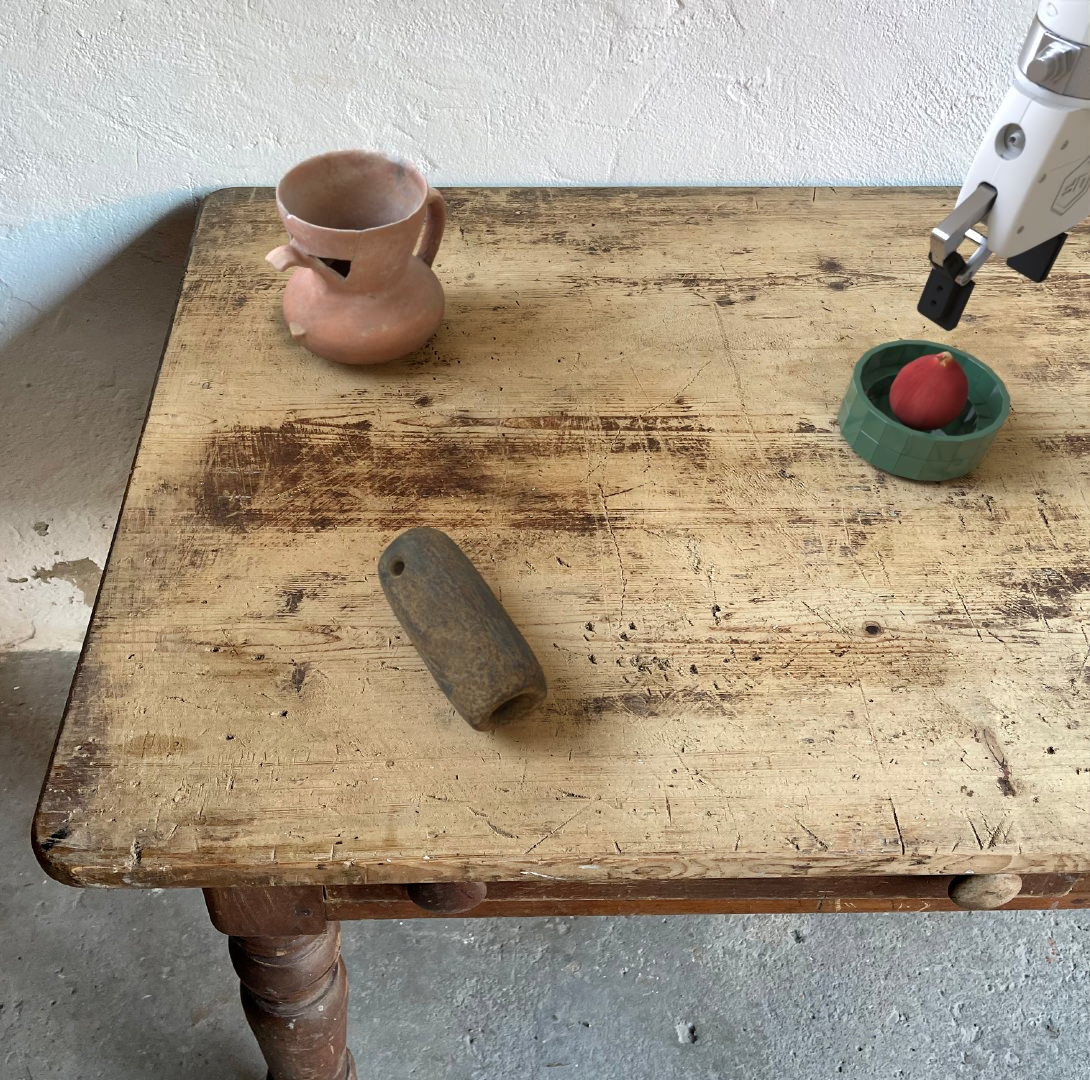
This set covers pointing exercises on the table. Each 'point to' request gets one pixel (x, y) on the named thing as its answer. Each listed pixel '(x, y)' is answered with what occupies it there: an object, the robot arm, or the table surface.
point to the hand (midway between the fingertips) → (980, 296)
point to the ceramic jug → (360, 255)
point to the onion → (929, 392)
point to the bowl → (910, 450)
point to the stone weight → (461, 630)
